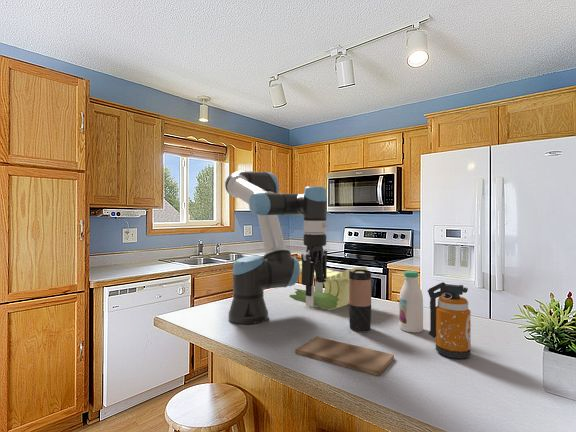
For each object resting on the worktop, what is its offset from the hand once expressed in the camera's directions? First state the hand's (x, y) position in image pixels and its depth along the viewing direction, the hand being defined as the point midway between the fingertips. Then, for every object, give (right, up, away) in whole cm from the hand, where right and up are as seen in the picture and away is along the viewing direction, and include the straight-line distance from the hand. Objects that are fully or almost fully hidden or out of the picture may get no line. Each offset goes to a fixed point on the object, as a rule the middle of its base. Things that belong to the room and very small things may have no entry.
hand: (314, 303), depth 111 cm
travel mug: (+16, -10, +6) cm, 20 cm away
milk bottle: (+34, -10, +4) cm, 36 cm away
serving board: (+7, -10, -17) cm, 21 cm away
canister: (+37, -11, -15) cm, 42 cm away
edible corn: (0, -1, 0) cm, 1 cm away
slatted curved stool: (+10, -10, +38) cm, 41 cm away
